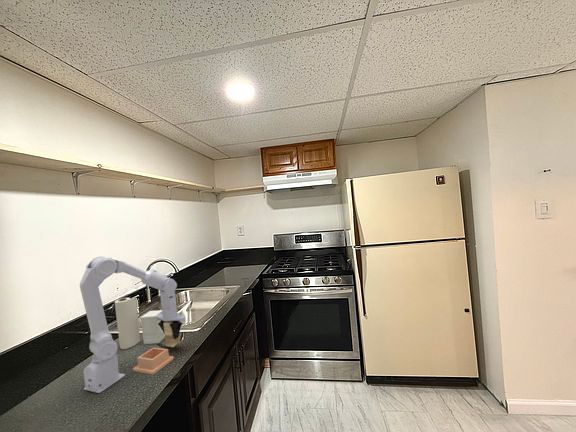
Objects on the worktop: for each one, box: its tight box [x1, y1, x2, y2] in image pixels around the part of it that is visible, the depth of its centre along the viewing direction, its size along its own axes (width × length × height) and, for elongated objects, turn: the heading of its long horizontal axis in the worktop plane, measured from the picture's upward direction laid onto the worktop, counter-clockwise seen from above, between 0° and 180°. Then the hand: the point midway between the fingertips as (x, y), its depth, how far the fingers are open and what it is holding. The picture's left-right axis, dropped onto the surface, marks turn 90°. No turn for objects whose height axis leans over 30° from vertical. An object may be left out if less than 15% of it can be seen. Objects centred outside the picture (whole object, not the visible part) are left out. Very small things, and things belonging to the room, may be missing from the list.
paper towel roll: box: [114, 296, 142, 350], centre depth 120 cm, size 7×6×21 cm
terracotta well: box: [132, 347, 175, 376], centre depth 103 cm, size 10×10×4 cm
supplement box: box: [140, 309, 165, 345], centre depth 124 cm, size 7×7×13 cm
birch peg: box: [163, 321, 181, 348], centre depth 113 cm, size 4×4×10 cm
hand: (172, 337), depth 113 cm, fingers closed on birch peg, 4 cm apart
